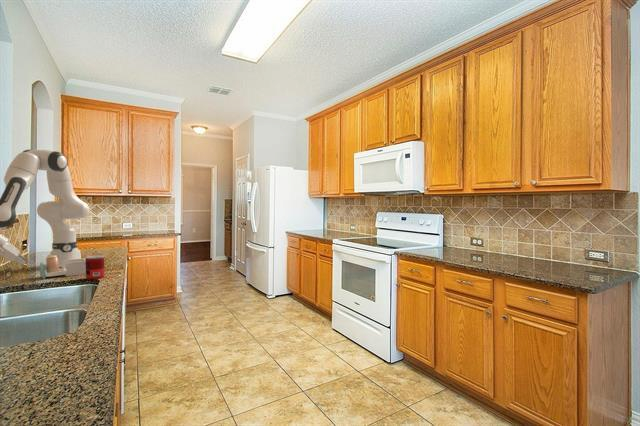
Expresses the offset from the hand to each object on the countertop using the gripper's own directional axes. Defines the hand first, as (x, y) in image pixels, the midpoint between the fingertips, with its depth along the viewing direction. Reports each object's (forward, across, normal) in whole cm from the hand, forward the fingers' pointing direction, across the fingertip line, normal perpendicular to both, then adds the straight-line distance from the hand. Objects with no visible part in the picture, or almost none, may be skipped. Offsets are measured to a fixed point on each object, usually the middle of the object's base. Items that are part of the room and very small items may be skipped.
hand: (25, 262), depth 163 cm
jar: (+12, 0, -3) cm, 13 cm away
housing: (+20, +2, -8) cm, 22 cm away
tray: (+14, 0, -2) cm, 15 cm away
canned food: (+26, -17, -13) cm, 33 cm away
